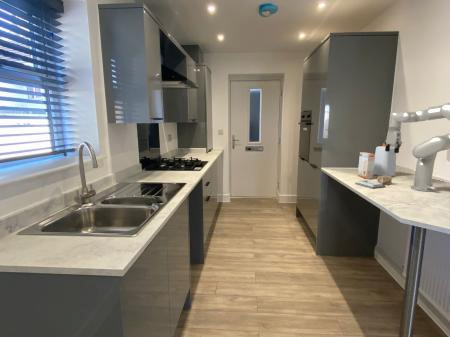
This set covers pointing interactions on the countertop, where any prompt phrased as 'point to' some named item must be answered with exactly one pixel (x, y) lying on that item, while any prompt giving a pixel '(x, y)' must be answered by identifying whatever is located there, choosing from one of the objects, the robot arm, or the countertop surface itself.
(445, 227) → the countertop surface
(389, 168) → the plastic bottle
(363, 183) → the locator board
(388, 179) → the oak block
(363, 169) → the cracker box
